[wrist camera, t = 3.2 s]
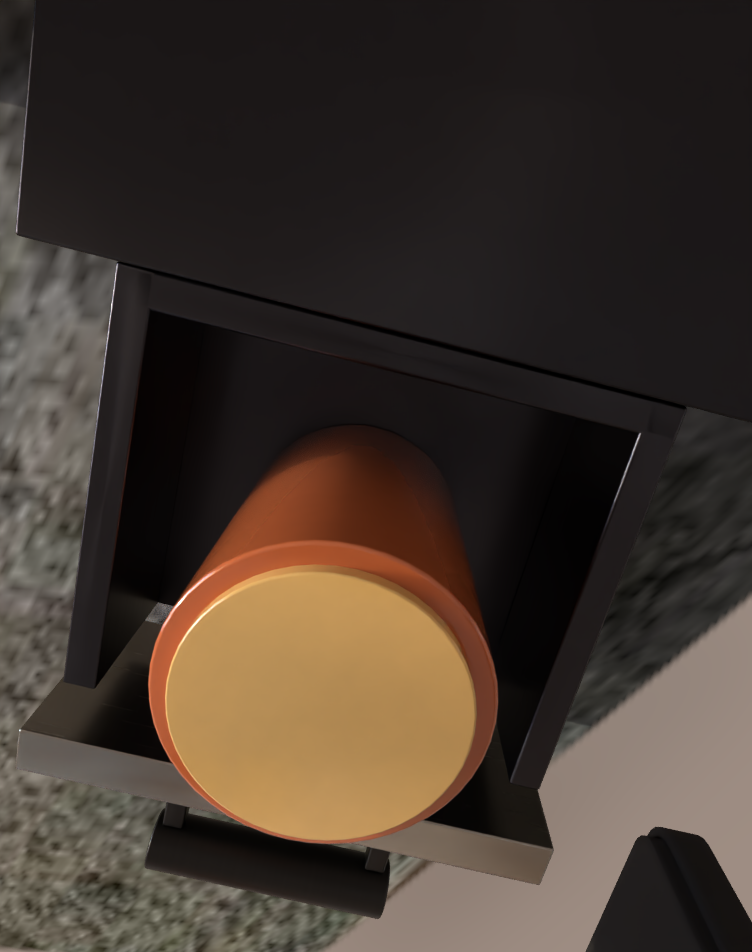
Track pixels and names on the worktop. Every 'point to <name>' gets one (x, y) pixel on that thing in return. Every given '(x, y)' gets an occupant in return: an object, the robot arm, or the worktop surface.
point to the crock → (330, 648)
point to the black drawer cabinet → (422, 169)
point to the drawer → (229, 483)
